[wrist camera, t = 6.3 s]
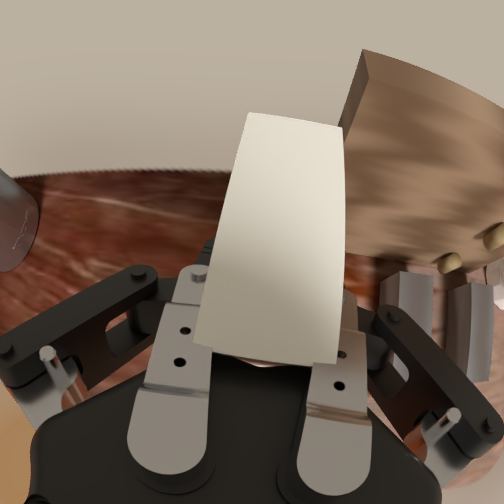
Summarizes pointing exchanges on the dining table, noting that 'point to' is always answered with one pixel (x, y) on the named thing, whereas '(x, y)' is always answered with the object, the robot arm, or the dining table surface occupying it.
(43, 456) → the robot arm
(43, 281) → the dining table surface
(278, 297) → the plain white rectangular block
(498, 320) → the dining table surface
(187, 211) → the dining table surface
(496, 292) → the white cup
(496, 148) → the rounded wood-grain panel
